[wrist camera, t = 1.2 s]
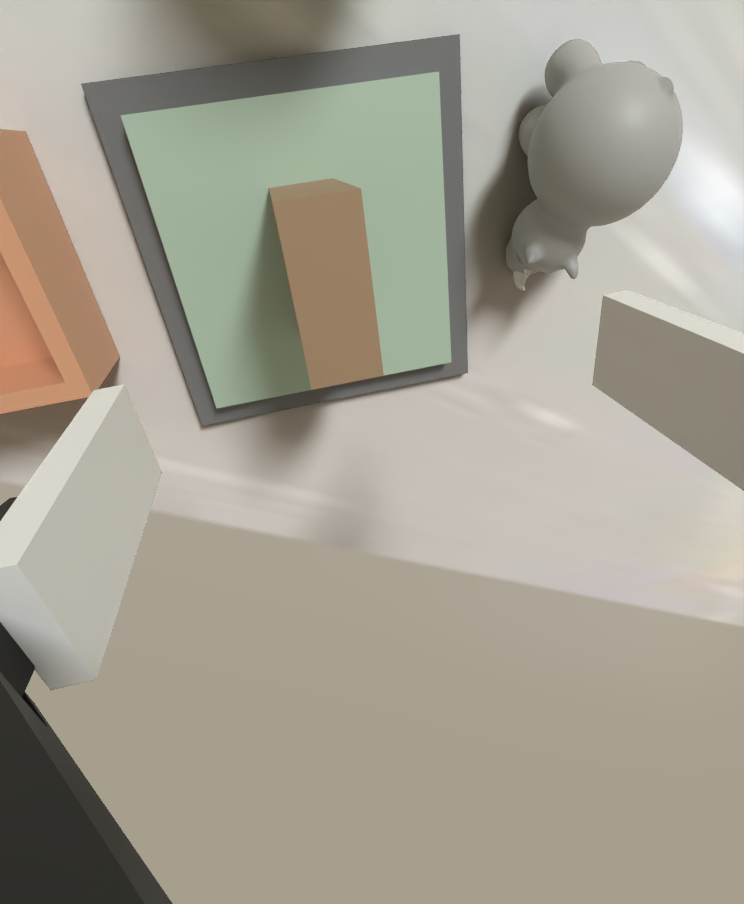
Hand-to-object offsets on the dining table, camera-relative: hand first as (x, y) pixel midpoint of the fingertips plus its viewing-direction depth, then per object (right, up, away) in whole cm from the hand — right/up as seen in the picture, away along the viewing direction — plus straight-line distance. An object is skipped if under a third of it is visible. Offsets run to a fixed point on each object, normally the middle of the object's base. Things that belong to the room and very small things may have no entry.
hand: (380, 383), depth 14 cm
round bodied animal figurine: (+10, +15, +17) cm, 25 cm away
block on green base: (-4, +10, +16) cm, 19 cm away
